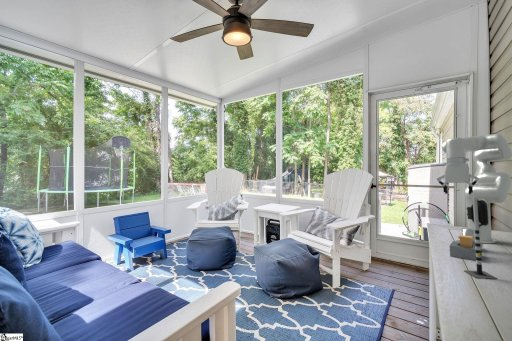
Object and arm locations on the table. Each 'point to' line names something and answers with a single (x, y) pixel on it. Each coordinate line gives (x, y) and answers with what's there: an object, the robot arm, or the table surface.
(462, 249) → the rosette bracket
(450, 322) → the table surface
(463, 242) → the tan flared block
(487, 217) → the miniature traffic light
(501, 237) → the table surface
